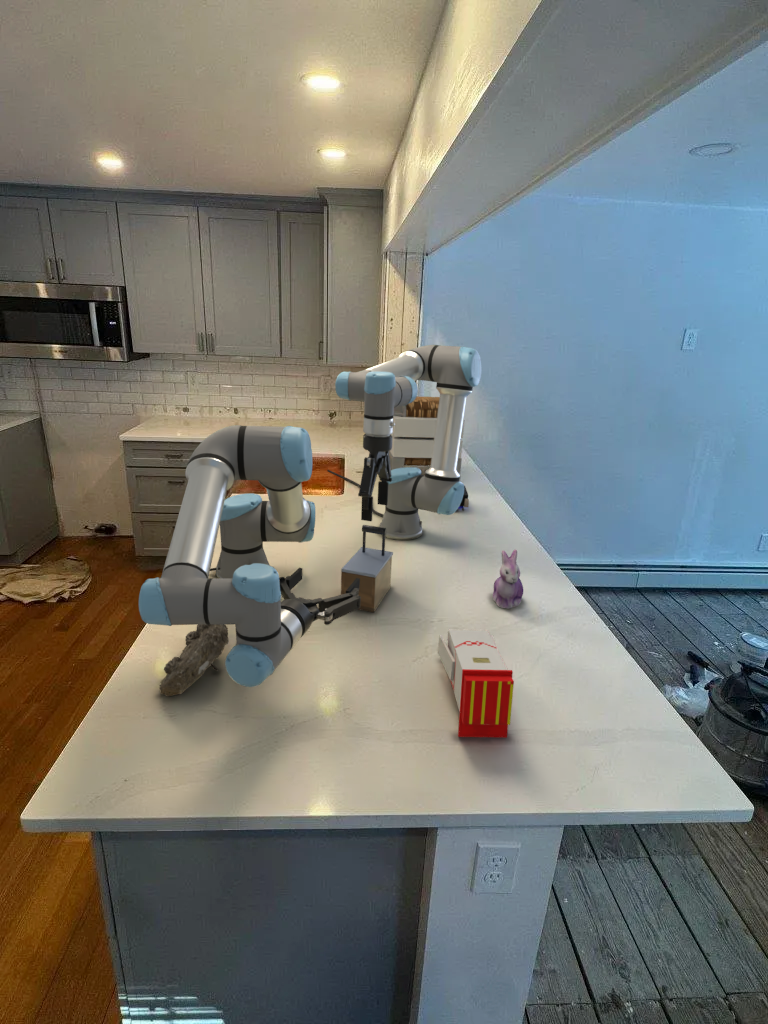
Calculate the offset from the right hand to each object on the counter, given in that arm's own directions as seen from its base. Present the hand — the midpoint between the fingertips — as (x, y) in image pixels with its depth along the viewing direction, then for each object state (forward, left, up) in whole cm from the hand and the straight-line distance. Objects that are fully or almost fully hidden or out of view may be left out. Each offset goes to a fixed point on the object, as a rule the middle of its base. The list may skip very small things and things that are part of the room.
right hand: (374, 512), depth 152 cm
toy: (+48, -13, -23) cm, 54 cm away
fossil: (+7, -53, -23) cm, 59 cm away
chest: (+3, -4, -23) cm, 24 cm away
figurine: (+28, +26, -23) cm, 44 cm away
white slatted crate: (-79, +95, -23) cm, 126 cm away
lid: (+2, -4, -13) cm, 14 cm away
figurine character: (-34, +74, -23) cm, 84 cm away
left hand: (+17, -27, -5) cm, 32 cm away
